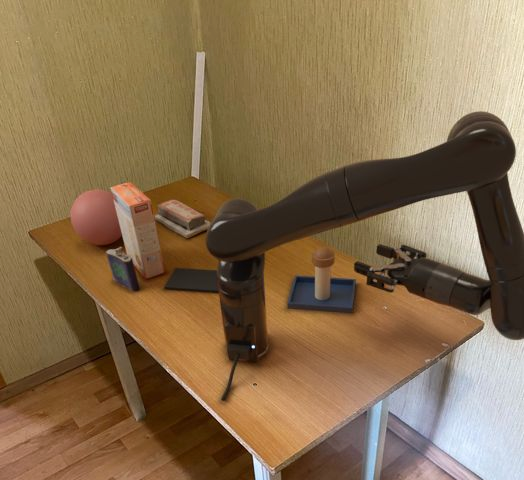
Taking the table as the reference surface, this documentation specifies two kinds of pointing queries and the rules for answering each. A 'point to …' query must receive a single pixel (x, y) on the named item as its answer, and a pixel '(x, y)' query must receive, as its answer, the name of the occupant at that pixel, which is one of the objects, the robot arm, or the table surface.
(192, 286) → the mat
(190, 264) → the table surface
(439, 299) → the robot arm
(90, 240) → the balloon
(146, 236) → the cracker box
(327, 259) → the mushroom
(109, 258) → the flask
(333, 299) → the tray
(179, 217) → the packaged product
